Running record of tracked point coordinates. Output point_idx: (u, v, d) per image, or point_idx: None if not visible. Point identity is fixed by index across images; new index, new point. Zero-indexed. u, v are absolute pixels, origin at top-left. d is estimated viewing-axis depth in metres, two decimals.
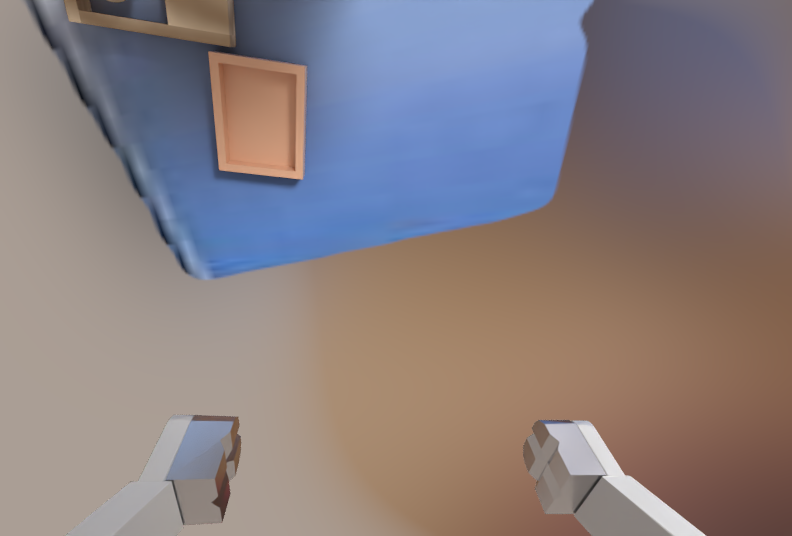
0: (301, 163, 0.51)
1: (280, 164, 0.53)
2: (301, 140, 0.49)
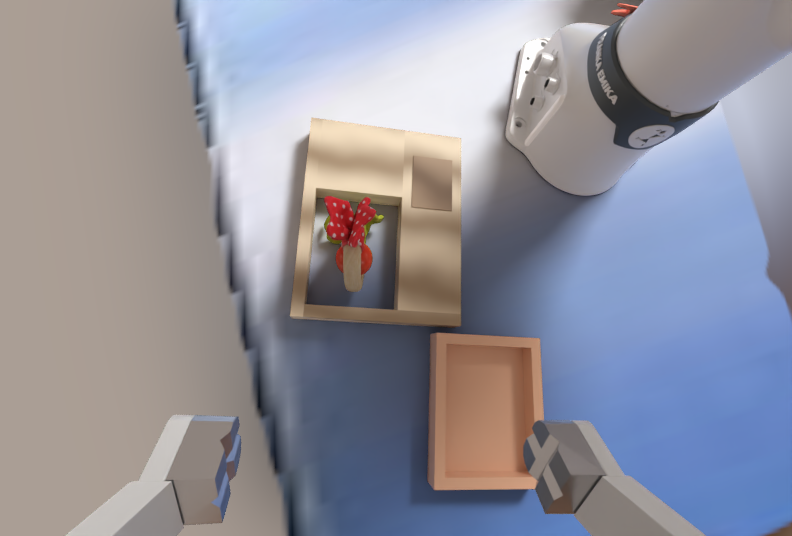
0: None
1: (505, 469, 0.37)
2: None
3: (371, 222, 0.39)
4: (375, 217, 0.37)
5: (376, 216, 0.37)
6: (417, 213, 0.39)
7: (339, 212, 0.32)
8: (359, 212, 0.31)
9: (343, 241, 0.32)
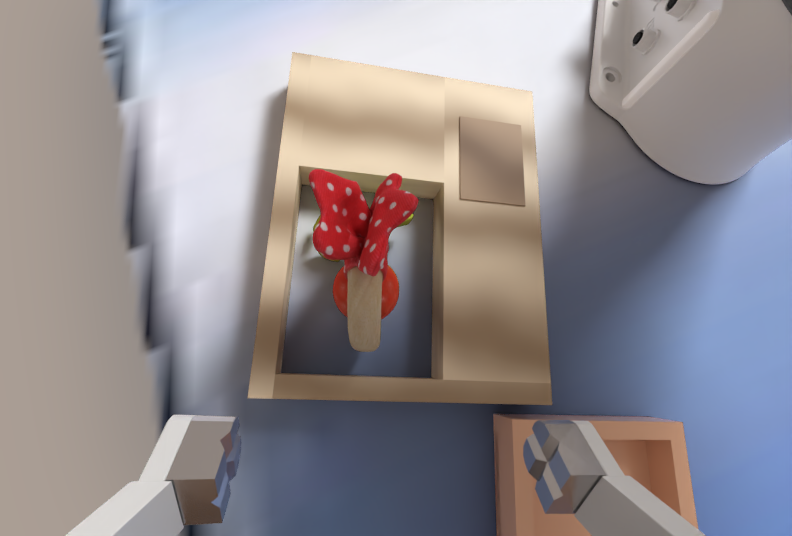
0: None
1: None
2: None
3: None
4: None
5: None
6: (469, 210, 0.24)
7: (340, 203, 0.16)
8: (381, 202, 0.15)
9: (347, 261, 0.16)
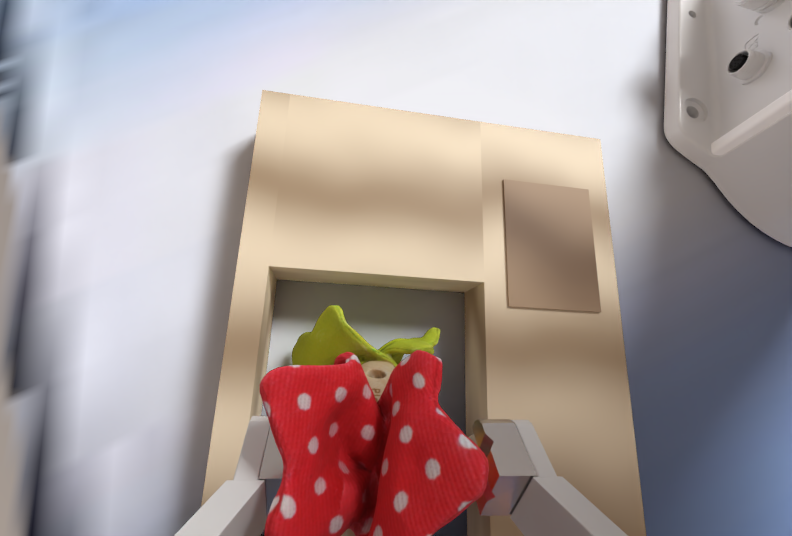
0: None
1: None
2: None
3: None
4: None
5: (430, 351, 0.13)
6: (522, 323, 0.16)
7: (324, 424, 0.08)
8: (406, 441, 0.07)
9: None
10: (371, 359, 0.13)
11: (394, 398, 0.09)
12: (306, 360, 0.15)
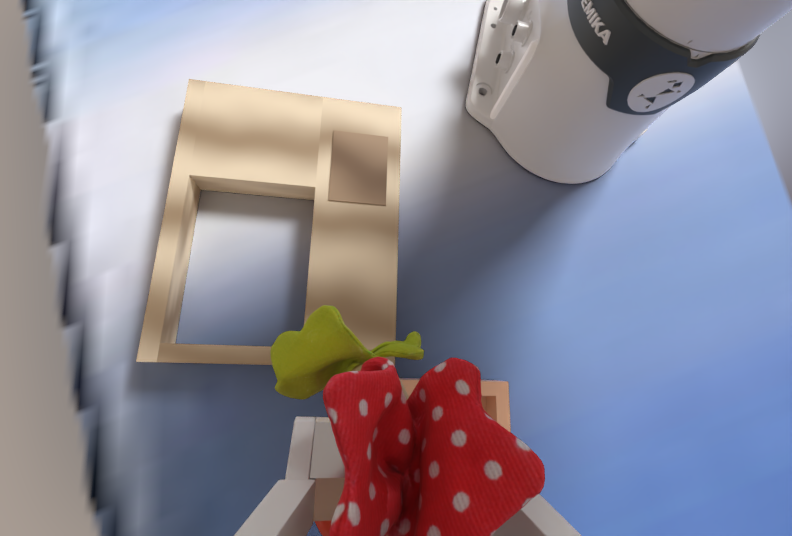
0: None
1: None
2: None
3: None
4: (420, 358, 0.14)
5: (422, 355, 0.14)
6: (336, 209, 0.28)
7: (374, 429, 0.08)
8: (461, 445, 0.08)
9: None
10: (365, 361, 0.14)
11: (433, 403, 0.09)
12: (292, 360, 0.14)
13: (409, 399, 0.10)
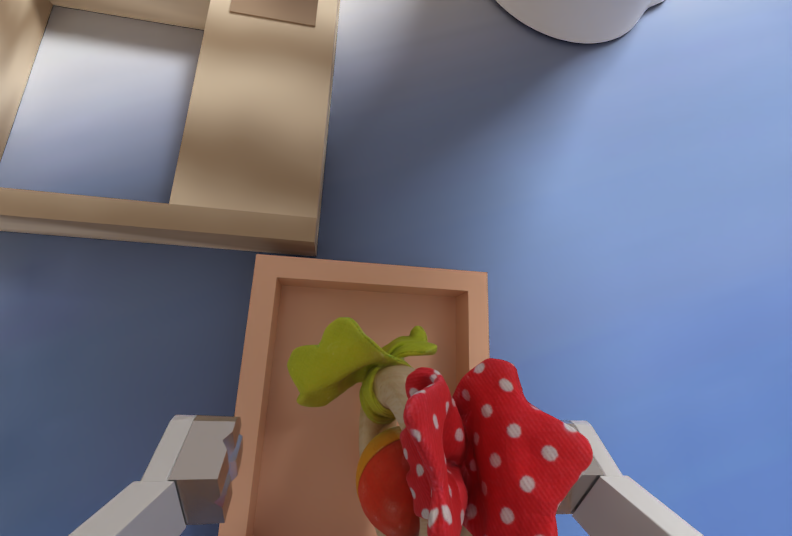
0: None
1: None
2: None
3: None
4: (434, 353, 0.15)
5: (436, 349, 0.15)
6: (240, 25, 0.20)
7: (441, 436, 0.09)
8: (517, 436, 0.09)
9: None
10: (387, 364, 0.14)
11: (480, 402, 0.10)
12: (314, 374, 0.14)
13: None
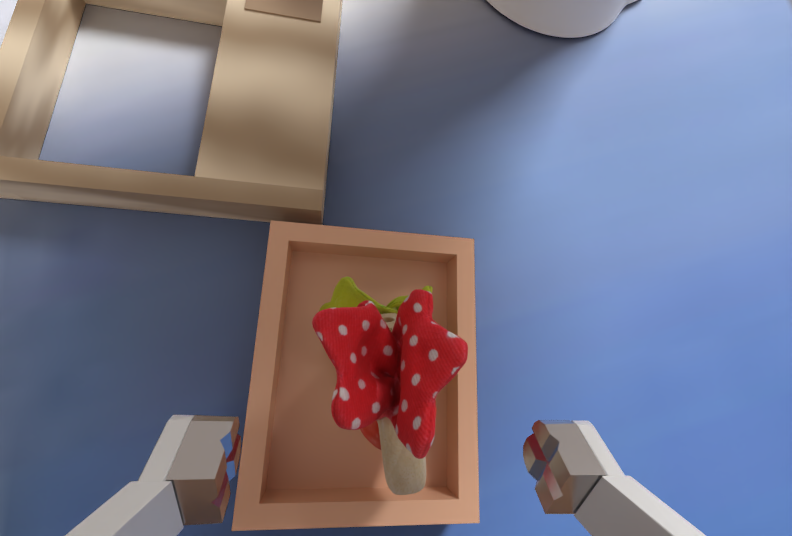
0: (474, 470, 0.18)
1: None
2: (471, 402, 0.19)
3: None
4: None
5: None
6: (254, 21, 0.22)
7: (357, 345, 0.12)
8: (414, 344, 0.11)
9: None
10: (381, 313, 0.17)
11: (402, 324, 0.12)
12: None
13: (394, 327, 0.13)
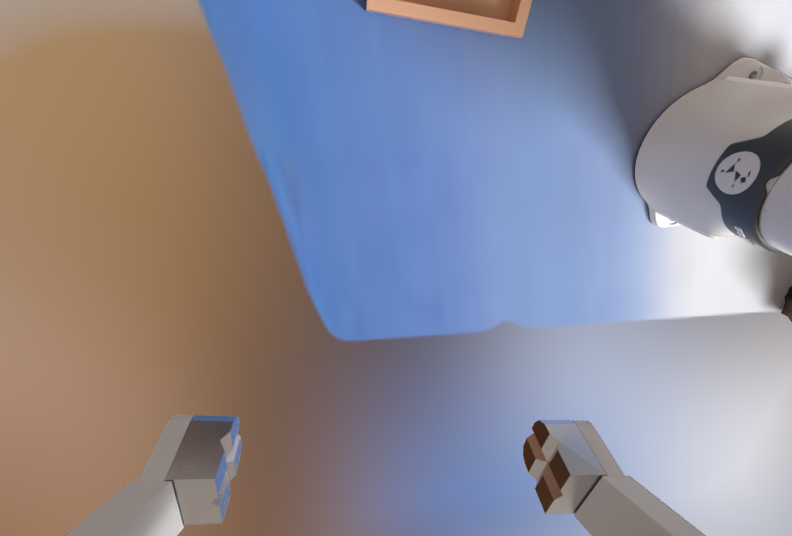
0: (393, 11, 0.32)
1: None
2: (428, 16, 0.32)
3: None
4: None
5: None
6: None
7: None
8: None
9: None
10: None
11: None
12: None
13: None
